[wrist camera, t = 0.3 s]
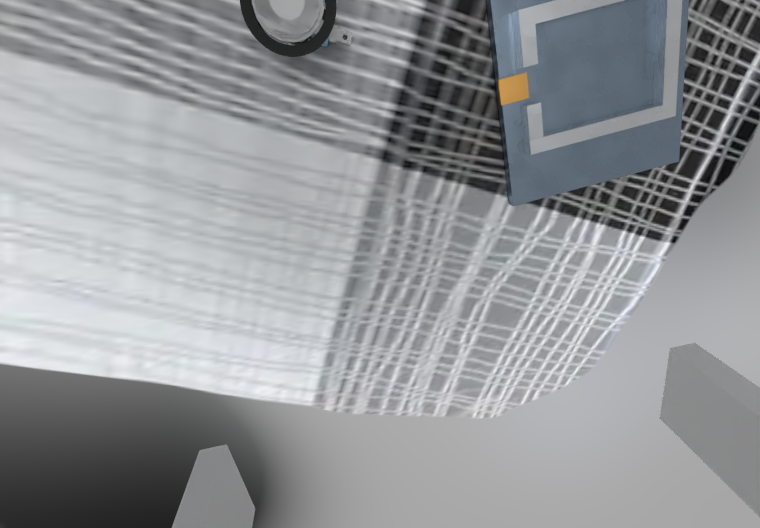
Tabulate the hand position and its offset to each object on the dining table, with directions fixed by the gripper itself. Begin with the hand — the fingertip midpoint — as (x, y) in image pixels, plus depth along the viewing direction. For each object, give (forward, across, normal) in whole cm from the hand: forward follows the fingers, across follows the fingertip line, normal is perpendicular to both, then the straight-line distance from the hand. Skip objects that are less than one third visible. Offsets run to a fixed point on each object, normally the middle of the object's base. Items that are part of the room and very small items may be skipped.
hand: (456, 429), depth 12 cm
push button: (+28, -2, +14) cm, 31 cm away
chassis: (+27, +20, +8) cm, 35 cm away
